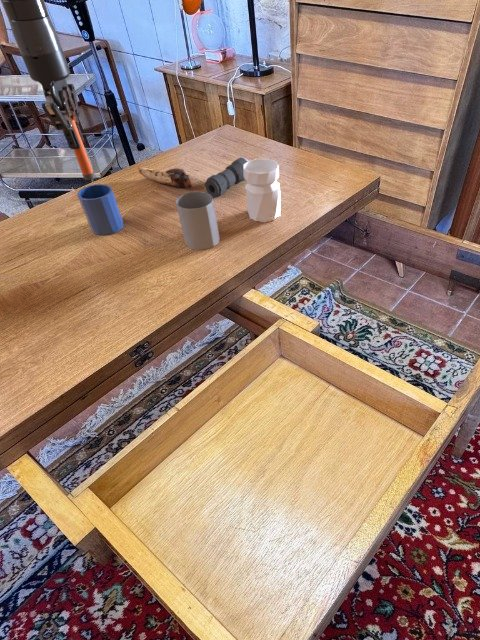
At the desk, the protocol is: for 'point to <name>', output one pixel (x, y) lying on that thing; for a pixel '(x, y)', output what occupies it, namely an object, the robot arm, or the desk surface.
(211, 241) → the cup
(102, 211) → the blue cup
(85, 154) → the handle
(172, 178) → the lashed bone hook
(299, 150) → the desk surface
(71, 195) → the desk surface
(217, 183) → the flashlight
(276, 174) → the vase
